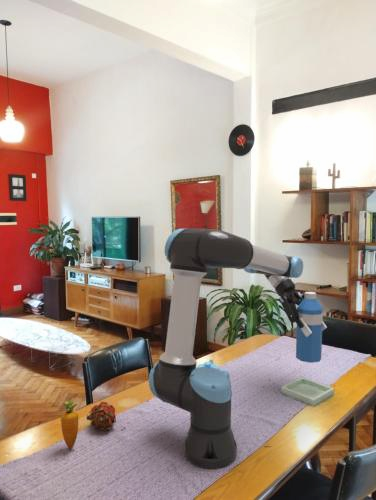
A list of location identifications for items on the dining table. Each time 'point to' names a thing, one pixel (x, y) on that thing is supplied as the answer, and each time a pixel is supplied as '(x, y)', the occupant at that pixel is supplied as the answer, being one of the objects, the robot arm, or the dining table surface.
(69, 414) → the carrot
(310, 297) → the water bottle
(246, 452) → the dining table surface
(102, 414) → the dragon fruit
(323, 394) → the tray
